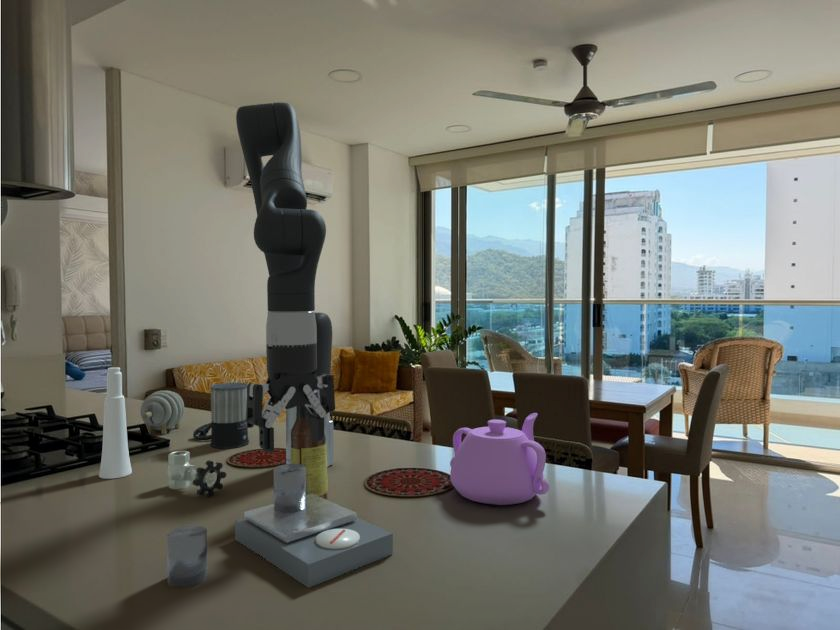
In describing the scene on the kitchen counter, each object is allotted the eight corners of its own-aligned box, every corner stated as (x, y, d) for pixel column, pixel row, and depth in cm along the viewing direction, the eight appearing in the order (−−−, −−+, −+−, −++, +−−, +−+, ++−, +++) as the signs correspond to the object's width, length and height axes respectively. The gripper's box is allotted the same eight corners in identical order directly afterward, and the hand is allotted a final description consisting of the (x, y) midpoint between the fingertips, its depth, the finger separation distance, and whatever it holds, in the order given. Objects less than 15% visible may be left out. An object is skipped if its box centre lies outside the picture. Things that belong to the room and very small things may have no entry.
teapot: (584, 491, 110) (585, 418, 110) (520, 523, 95) (521, 438, 94) (490, 467, 125) (490, 403, 125) (421, 491, 110) (422, 419, 109)
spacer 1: (198, 566, 79) (197, 522, 79) (213, 578, 76) (213, 533, 75) (161, 578, 76) (161, 532, 76) (176, 591, 72) (175, 543, 72)
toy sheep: (193, 424, 166) (192, 386, 166) (169, 439, 149) (168, 396, 149) (155, 424, 166) (155, 386, 166) (127, 439, 149) (126, 396, 149)
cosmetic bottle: (128, 477, 117) (127, 369, 117) (95, 480, 116) (93, 370, 115) (134, 469, 123) (133, 365, 122) (102, 471, 121) (101, 366, 121)
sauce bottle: (334, 498, 106) (333, 389, 105) (317, 510, 100) (316, 395, 99) (302, 494, 108) (302, 387, 107) (283, 506, 102) (283, 393, 101)
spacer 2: (295, 499, 93) (295, 462, 93) (311, 507, 89) (311, 468, 89) (267, 506, 89) (267, 468, 89) (284, 515, 86) (284, 475, 86)
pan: (312, 499, 96) (312, 493, 96) (356, 519, 87) (356, 513, 87) (244, 518, 87) (244, 511, 87) (286, 542, 79) (286, 535, 79)
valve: (157, 489, 111) (195, 502, 104) (156, 455, 110) (195, 465, 104) (188, 480, 116) (226, 491, 109) (187, 447, 116) (226, 457, 109)
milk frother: (241, 449, 139) (241, 388, 139) (176, 449, 140) (176, 387, 139) (259, 435, 154) (259, 379, 153) (200, 434, 154) (199, 379, 154)
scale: (313, 515, 97) (313, 494, 97) (392, 554, 83) (392, 529, 83) (235, 539, 88) (234, 516, 87) (308, 587, 73) (308, 559, 73)
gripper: (316, 336, 96) (317, 433, 97) (236, 342, 86) (238, 450, 87) (344, 339, 91) (345, 442, 92) (261, 345, 81) (263, 461, 82)
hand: (293, 445), depth 89 cm, fingers open, 8 cm apart
